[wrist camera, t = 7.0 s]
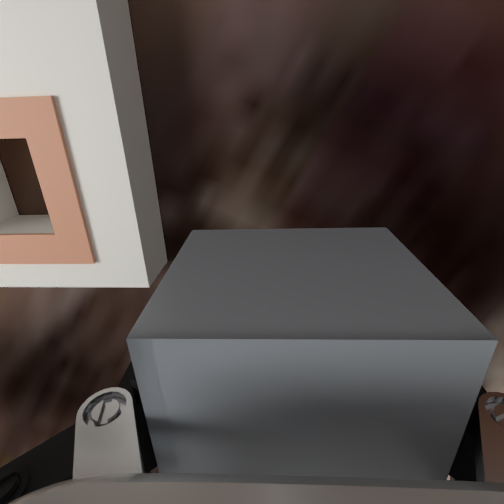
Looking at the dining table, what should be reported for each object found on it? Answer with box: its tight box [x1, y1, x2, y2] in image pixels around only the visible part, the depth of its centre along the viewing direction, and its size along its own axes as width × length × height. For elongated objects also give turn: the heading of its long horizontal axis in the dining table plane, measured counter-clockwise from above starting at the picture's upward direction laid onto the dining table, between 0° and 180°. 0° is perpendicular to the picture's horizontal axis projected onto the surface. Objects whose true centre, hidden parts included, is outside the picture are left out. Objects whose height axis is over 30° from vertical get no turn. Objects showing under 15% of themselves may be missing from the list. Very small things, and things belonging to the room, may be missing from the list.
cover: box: [126, 227, 498, 480], centre depth 10 cm, size 7×7×6 cm
